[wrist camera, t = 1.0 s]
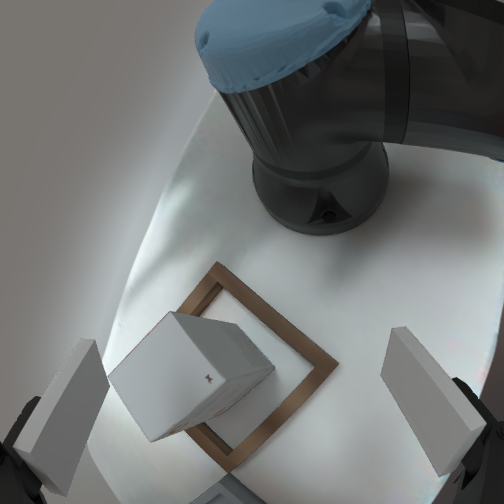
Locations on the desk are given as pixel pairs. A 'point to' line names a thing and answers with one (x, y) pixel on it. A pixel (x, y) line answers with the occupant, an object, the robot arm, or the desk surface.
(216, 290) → the walnut frame
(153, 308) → the desk surface
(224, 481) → the slate tray
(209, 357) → the small box
